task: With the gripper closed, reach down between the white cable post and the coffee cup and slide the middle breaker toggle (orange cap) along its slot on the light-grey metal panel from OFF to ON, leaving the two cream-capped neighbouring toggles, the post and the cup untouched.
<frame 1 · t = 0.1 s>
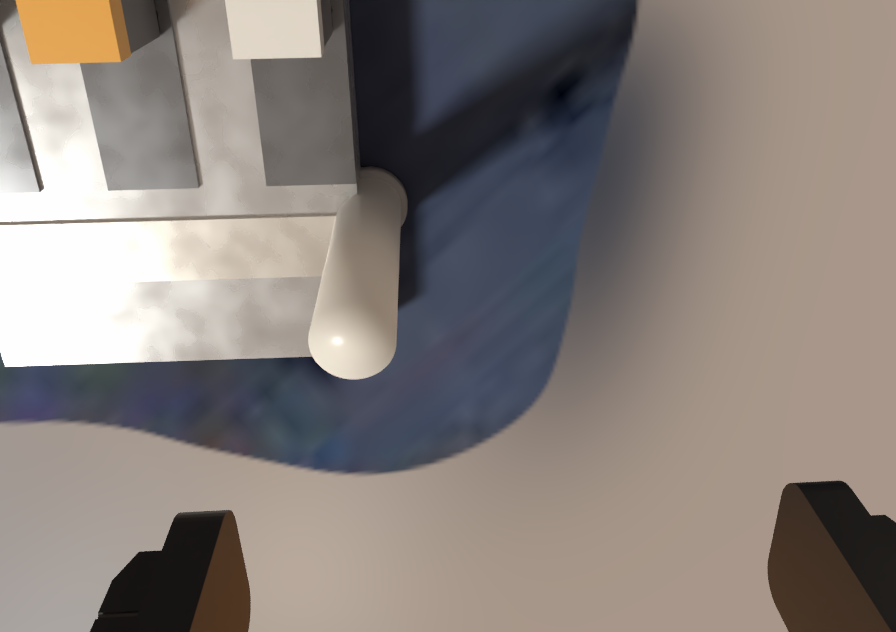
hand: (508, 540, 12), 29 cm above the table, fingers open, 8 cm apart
toggle A: (92, 6, 30), point 6 cm above the table, slide at 0.0 cm
cable post: (371, 201, 40), on the table
breaker panel: (160, 104, 37), on the table
toggle C: (282, 2, 30), point 6 cm above the table, slide at 0.0 cm
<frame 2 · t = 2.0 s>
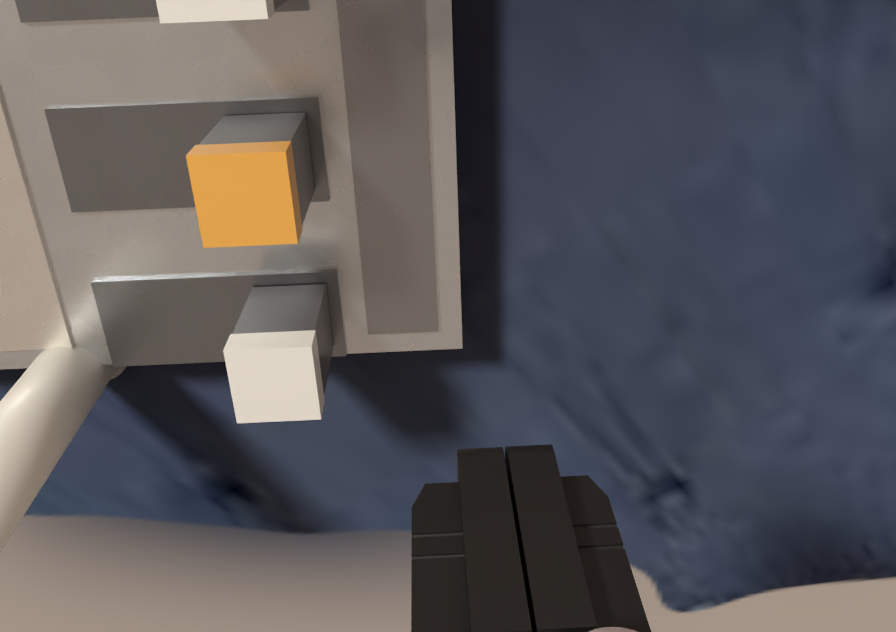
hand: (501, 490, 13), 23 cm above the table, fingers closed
toggle A: (258, 175, 28), point 6 cm above the table, slide at 0.0 cm
cable post: (95, 340, 38), on the table
breaker panel: (162, 136, 33), on the table
toggle C: (284, 349, 31), point 6 cm above the table, slide at 0.0 cm
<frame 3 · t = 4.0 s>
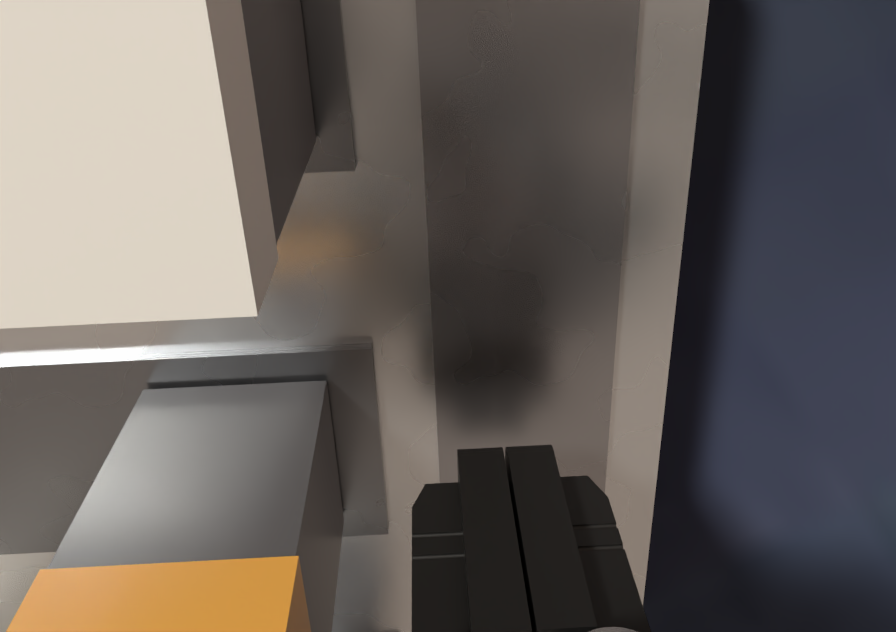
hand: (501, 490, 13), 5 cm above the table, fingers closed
toggle A: (216, 570, 12), point 6 cm above the table, slide at 0.3 cm, touching gripper
toggle B: (129, 74, 8), point 6 cm above the table, slide at 0.0 cm
breaker panel: (49, 370, 17), on the table
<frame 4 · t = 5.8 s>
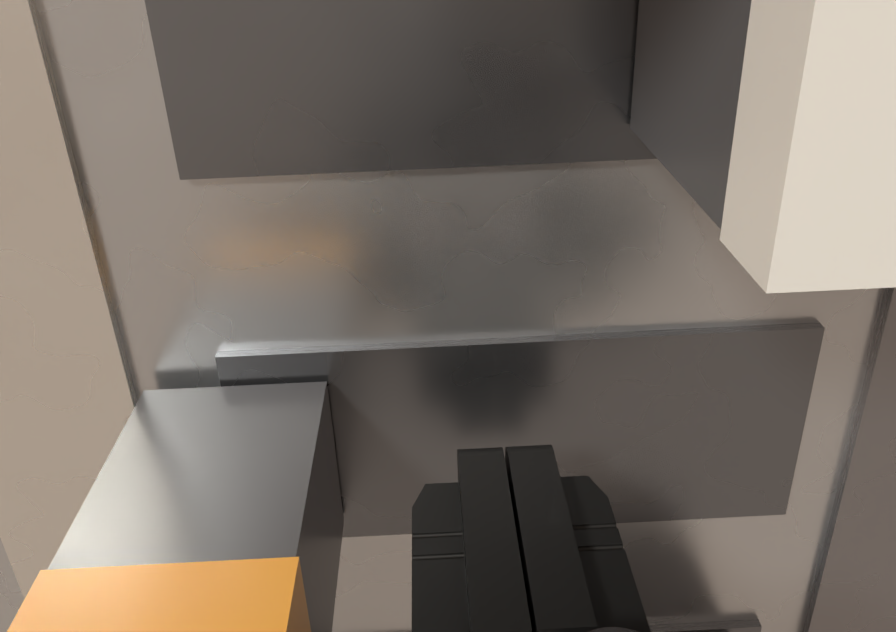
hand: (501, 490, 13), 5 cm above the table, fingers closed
toggle A: (216, 571, 12), point 6 cm above the table, slide at 7.7 cm, touching gripper
toggle B: (839, 45, 9), point 6 cm above the table, slide at 0.0 cm
breaker panel: (407, 353, 17), on the table
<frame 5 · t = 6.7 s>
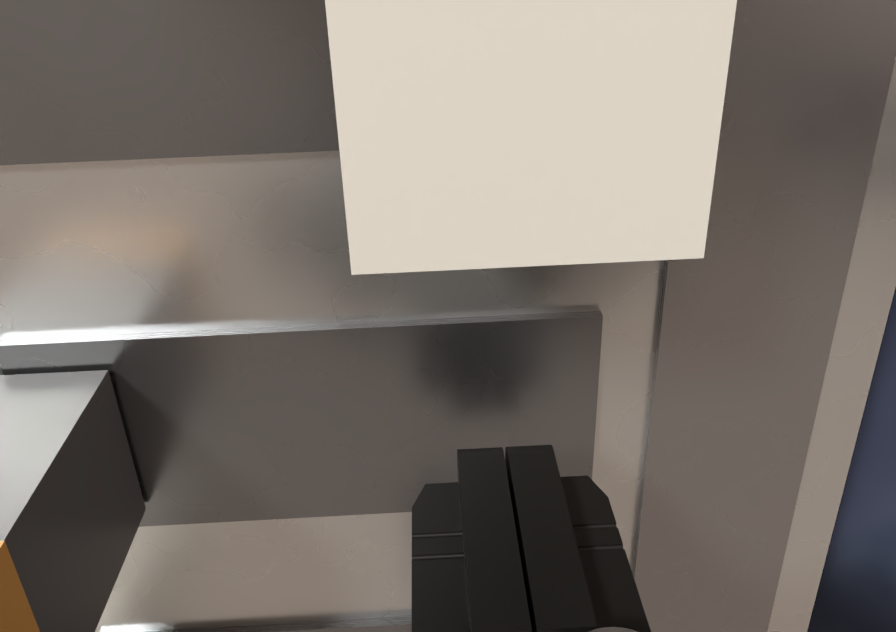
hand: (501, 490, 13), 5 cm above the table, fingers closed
toggle B: (498, 32, 9), point 6 cm above the table, slide at 0.0 cm
breaker panel: (234, 344, 17), on the table
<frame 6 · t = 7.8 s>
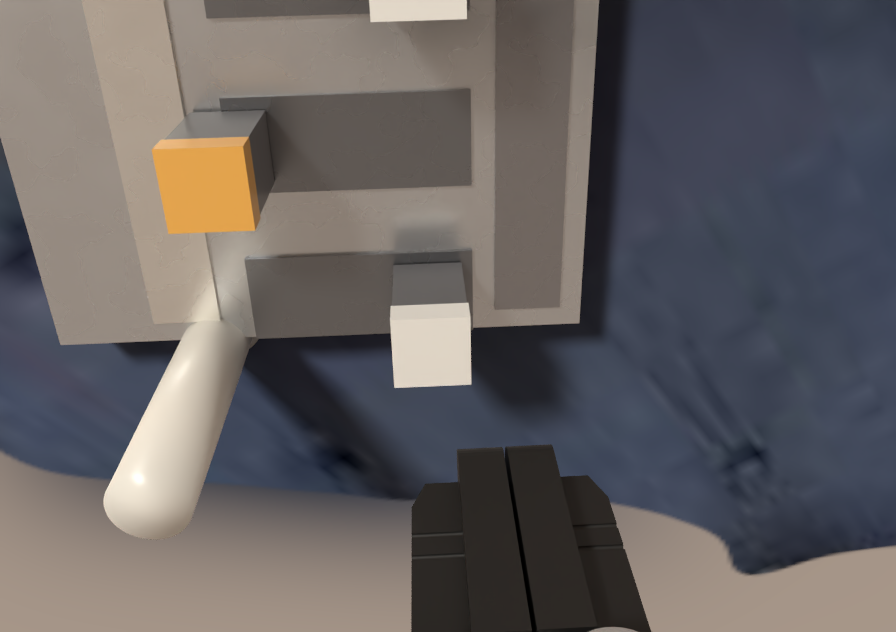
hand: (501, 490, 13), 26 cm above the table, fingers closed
toggle A: (219, 168, 31), point 6 cm above the table, slide at 7.7 cm
cable post: (227, 315, 40), on the table
breaker panel: (308, 124, 36), on the table
toggle C: (430, 321, 34), point 6 cm above the table, slide at 0.0 cm
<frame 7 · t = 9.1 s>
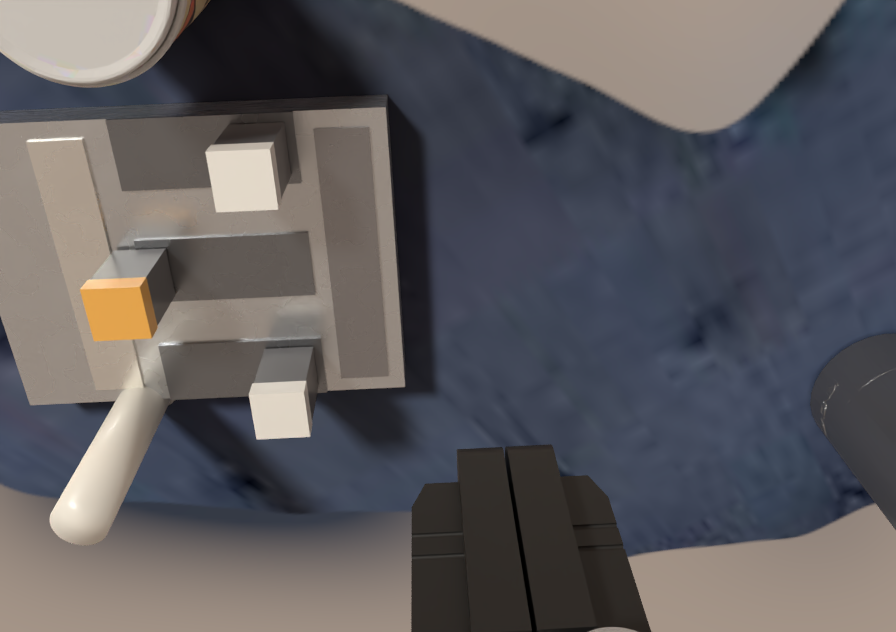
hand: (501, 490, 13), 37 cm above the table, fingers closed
toggle A: (131, 292, 45), point 6 cm above the table, slide at 7.7 cm
toggle B: (251, 165, 42), point 6 cm above the table, slide at 0.0 cm
cable post: (154, 379, 55), on the table
breaker panel: (204, 248, 50), on the table
toggle C: (286, 391, 49), point 6 cm above the table, slide at 0.0 cm
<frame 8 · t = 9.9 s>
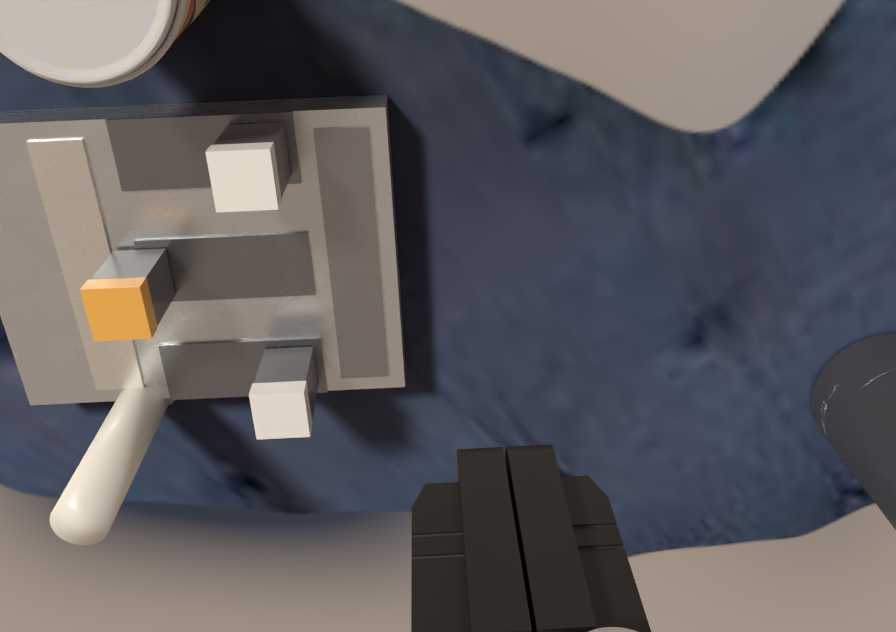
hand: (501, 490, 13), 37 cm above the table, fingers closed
toggle A: (131, 292, 45), point 6 cm above the table, slide at 7.7 cm
toggle B: (251, 165, 42), point 6 cm above the table, slide at 0.0 cm
cable post: (154, 379, 55), on the table
breaker panel: (204, 248, 50), on the table
toggle C: (286, 391, 49), point 6 cm above the table, slide at 0.0 cm
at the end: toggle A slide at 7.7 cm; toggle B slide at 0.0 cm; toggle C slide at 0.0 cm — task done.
